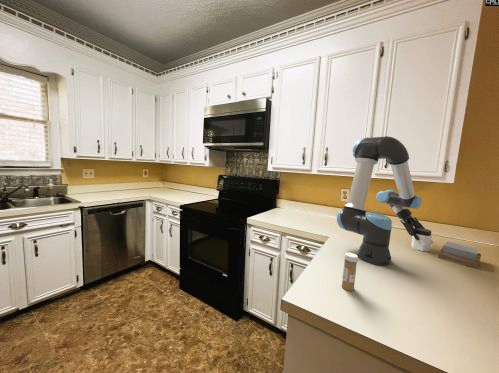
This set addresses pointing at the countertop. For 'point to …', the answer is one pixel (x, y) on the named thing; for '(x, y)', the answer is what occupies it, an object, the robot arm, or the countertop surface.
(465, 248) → the grey top brick
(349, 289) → the sprinkles bottle
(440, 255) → the walnut base brick
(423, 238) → the jar
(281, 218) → the countertop surface
